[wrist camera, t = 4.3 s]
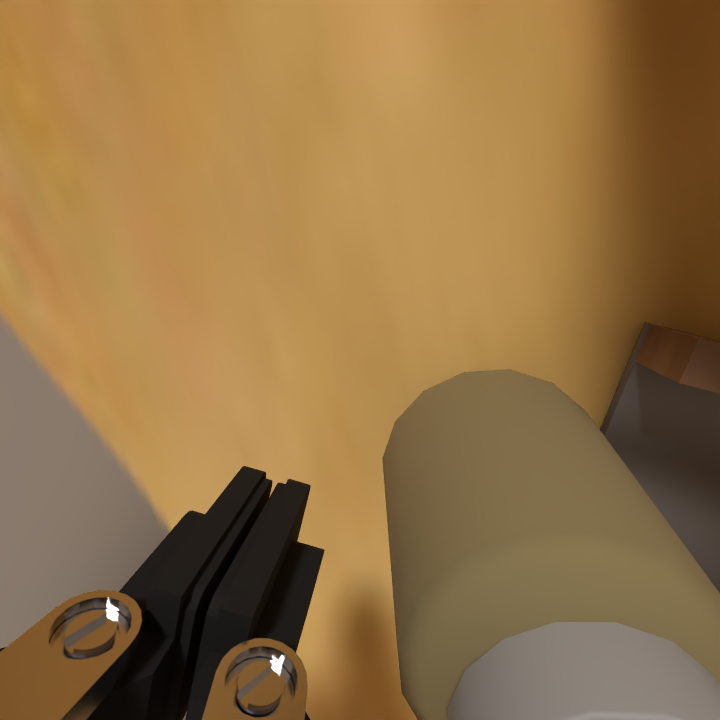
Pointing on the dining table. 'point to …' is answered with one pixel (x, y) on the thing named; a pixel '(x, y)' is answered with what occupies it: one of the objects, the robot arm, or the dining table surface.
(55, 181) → the dining table surface
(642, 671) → the squeeze bottle
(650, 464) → the brown wooden tray
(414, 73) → the dining table surface
